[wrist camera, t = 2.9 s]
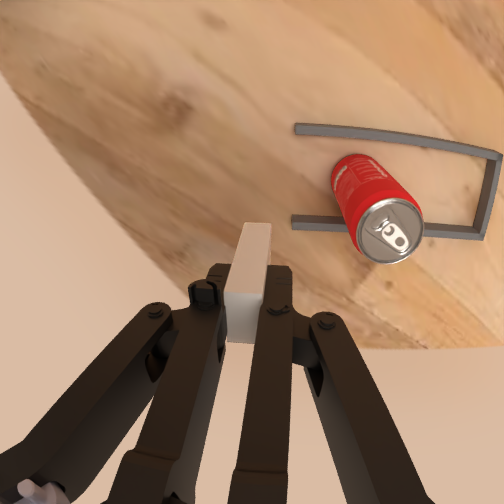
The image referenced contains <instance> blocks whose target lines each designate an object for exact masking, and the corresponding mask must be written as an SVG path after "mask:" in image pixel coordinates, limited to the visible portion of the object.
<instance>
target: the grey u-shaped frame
mask: <svg viewBox="0 0 504 504" xmlns="http://www.w3.org/2000/svg"><path fill="white" fill-rule="evenodd" d="M295 134H301V135H320V136H335V137H348V138H359V139H369V140H378V141H387V142H395V143H403V144H410V145H417V146H423V147H430V148H436V149H442V150H447V151H453V152H458V153H463V154H468V155H473V156H478V157H482V158H487V165H486V171H485V176H484V181H483V186H482V191H481V196H480V200H479V204H478V208H477V213H476V217H475V220H474V224H473V227H470V226H459V225H448V224H436V223H424V233H423V237H438V238H452V239H466V240H480V241H483V240H484V236H485V233H486V229H487V226H488V222H489V219H490V215H491V211H492V207H493V203H494V199H495V194H496V190H497V185H498V180H499V175H500V170H501V165H502V159H503V154H501V153H499V152H497V151H494V150H491V149H487V148H482V147H478V146H474V145H469V144H464V143H460V142H455V141H450V140H444V139H439V138H433V137H428V136H422V135H415V134H409V133H402V132H395V131H387V130H379V129H370V128H361V127H350V126H339V125H325V124H308V123H295ZM292 230H309V231H331V232H349V231H348V228H347V225H346V223H345V220H344V217H331V216H310V215H292Z"/></svg>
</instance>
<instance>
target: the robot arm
mask: <svg viewBox="0 0 504 504" xmlns="http://www.w3.org/2000/svg"><path fill="white" fill-rule="evenodd" d="M188 292H189V299H190V306H189V307H187V308H184V309H179V310H171V308H170V307H169V305H167V304H165V303H162V302H155V303H151V304H148V305H146V306H145V307H143V308H142V309H141V310H140V311H139V312H138V314H137V315H136V316H135V317H134V318H133V319H132V320H131V321H130V322H129V323H128V324H127V325H126V326H125V327H124V328H123V329H122V330H121V331H120V332H119V334H118V335H117V336H116V337H115V338H114V339H113V340H112V341H111V342H110V343H109V344H108V345H107V346H106V347H105V349H104V350H103V351H102V352H101V353H100V354H99V355H98V356H97V357H96V358H95V359H94V360H93V362H92V363H91V364H90V365H89V366H88V367H87V368H86V369H85V371H83V372H82V374H81V375H80V376H79V377H78V378H77V379H76V380H75V381H74V383H73V384H72V385H71V386H70V387H69V388H68V389H67V391H66V392H64V394H63V395H62V396H61V397H60V398H59V399H58V400H57V402H56V403H55V404H54V405H53V406H52V407H51V408H50V410H49V411H48V412H47V413H46V414H45V415H44V417H43V418H42V419H41V420H40V421H39V422H38V423H37V424H36V426H35V427H34V428H33V429H32V430H31V431H30V433H29V434H28V435H27V436H26V438H25V439H24V440H23V441H21V442H20V443H18V444H17V445H15V446H13V447H12V448H10V449H8V450H7V451H5V452H3V453H2V454H0V504H71V503H72V502H74V501H75V500H76V499H77V498H78V497H79V496H80V495H81V494H83V493H84V491H85V490H86V489H87V488H88V487H89V485H90V484H91V483H92V481H93V480H94V479H95V477H96V476H97V474H98V473H99V472H100V470H101V469H102V468H103V466H104V465H105V463H106V462H107V460H108V459H109V458H110V456H111V455H112V454H113V452H114V451H115V449H116V448H117V447H118V445H119V444H120V442H121V441H122V439H123V438H124V437H125V435H126V434H127V433H128V431H129V430H130V428H131V427H132V426H133V424H134V423H135V421H136V420H137V418H138V417H139V416H140V414H141V413H142V412H143V410H144V409H145V407H146V406H147V404H148V403H149V402H150V400H151V399H152V397H153V396H154V397H153V400H152V403H151V406H150V408H149V411H148V414H147V416H146V419H145V422H144V425H143V427H142V430H141V433H140V436H139V439H138V441H137V444H136V446H135V448H134V449H133V450H129V451H127V452H126V453H125V454H124V456H123V458H122V460H121V463H120V465H119V468H118V471H117V474H116V477H115V479H114V482H113V485H112V488H111V491H110V494H109V496H108V499H107V500H106V501H104V502H102V503H101V504H195V485H196V481H197V476H198V472H199V467H200V462H201V458H202V454H203V449H204V445H205V440H206V436H207V431H208V427H209V422H210V418H211V413H212V408H213V405H214V400H215V396H216V391H217V387H218V382H219V378H220V374H221V369H222V365H223V360H224V355H225V351H226V349H225V340H226V336H227V341H228V342H236V343H249V344H255V345H254V352H253V359H252V366H251V372H250V379H249V386H248V392H247V399H246V405H245V412H244V419H243V426H242V431H241V438H240V444H239V450H238V457H237V463H236V467H235V469H234V471H233V474H232V480H231V485H230V491H229V496H228V503H227V504H286V502H287V488H288V473H287V468H288V467H287V466H288V451H289V431H290V409H291V382H292V381H291V380H292V363H294V364H298V365H301V366H304V371H305V374H306V378H307V380H308V384H309V387H310V389H311V393H312V396H313V399H314V402H315V405H316V408H317V411H318V414H319V417H320V420H321V423H322V426H323V429H324V433H325V436H326V439H327V442H328V445H329V448H330V451H331V454H332V457H333V461H334V463H335V466H336V470H337V473H338V476H339V479H340V483H341V486H342V489H343V492H344V495H345V498H346V502H347V504H435V503H434V502H433V501H432V500H431V499H430V498H429V497H428V496H427V494H426V492H425V490H424V487H423V485H422V483H421V480H420V478H419V476H418V474H417V471H416V469H415V467H414V465H413V462H412V460H411V458H410V455H409V454H408V451H407V449H406V447H405V445H404V442H403V440H402V438H401V436H400V434H399V432H398V429H397V428H396V426H395V423H394V421H393V419H392V417H391V415H390V413H389V410H388V408H387V406H386V404H385V402H384V400H383V398H382V396H381V394H380V392H379V390H378V388H377V386H376V384H375V382H374V380H373V378H372V376H371V374H370V372H369V370H368V368H367V366H366V364H365V362H364V360H363V358H362V356H361V354H360V352H359V350H358V348H357V346H356V344H355V342H354V340H353V338H352V337H351V335H350V333H349V331H348V329H347V327H346V325H345V323H344V321H343V320H342V319H341V317H340V316H338V315H336V314H335V313H331V312H319V313H316V314H315V315H313V316H312V317H311V318H310V317H306V316H303V315H301V314H299V313H298V312H297V311H295V309H294V308H293V305H292V271H291V269H290V268H289V267H288V266H278V265H271V223H253V222H245V223H244V226H243V229H242V232H241V236H240V239H239V242H238V246H237V249H236V252H235V255H234V259H233V262H232V264H220V263H216V264H215V265H214V266H212V267H211V268H210V270H209V272H208V275H207V277H206V279H201V280H197V281H195V282H193V283H191V284H190V285H189V287H188Z"/></svg>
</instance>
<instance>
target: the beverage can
mask: <svg viewBox="0 0 504 504" xmlns="http://www.w3.org/2000/svg"><path fill="white" fill-rule="evenodd" d="M331 185H332V189H333V192H334V194H335V197H336V199H337V202H338V204H339V207H340V210H341V212H342V215H343V217H344V220H345V223H346V225H347V228H348V231H349V233H350V236H351V239H352V241H353V244H354V245H355V247H356V248H357V250H358V251H359V252H360V253H361V254H363V255H364V256H365V257H366V258H368V259H369V260H371V261H373V262H375V263H379V264H394V263H397V262H400V261H402V260H404V259H406V258H407V257H409V256H410V255H411V254H412V253H413V252H414V251H415V250H416V249H417V247H418V246H419V244H420V242H421V240H422V237H423V233H424V221H423V216H422V212H421V209H420V207H419V205H418V204H417V202H416V201H415V200H414V199H413V198H412V196H411V195H410V194H409V193H408V192H407V191H406V190H405V189H404V188H403V187H402V186H401V185H400V184H399V183H398V182H397V181H396V180H395V179H394V178H393V177H392V176H391V175H390V174H389V173H388V172H387V171H386V170H385V169H384V168H383V167H382V166H381V165H380V164H379V163H378V162H376V161H375V160H374V159H373V158H371V157H369V156H366V155H362V154H355V155H350V156H348V157H346V158H344V159H342V160H341V161H340V162H339V163H338V164H337V165H336V167H335V169H334V171H333V173H332V178H331Z"/></svg>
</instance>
